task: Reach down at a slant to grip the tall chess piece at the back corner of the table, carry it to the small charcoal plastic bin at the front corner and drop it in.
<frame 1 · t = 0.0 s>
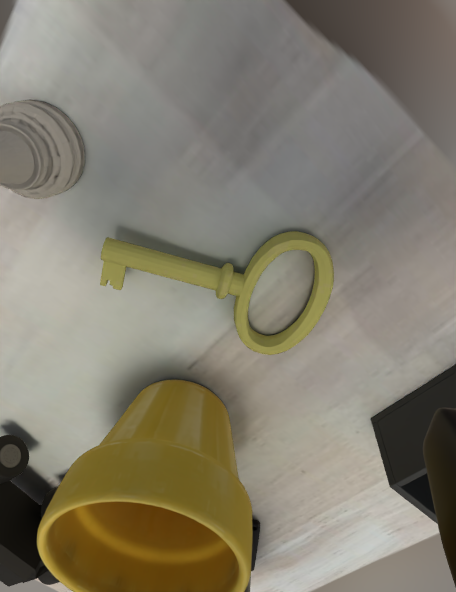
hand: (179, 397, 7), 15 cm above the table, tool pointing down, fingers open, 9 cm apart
chess piece: (45, 148, 20), on the table
flower pot: (182, 415, 28), on the table
toy vehicle: (44, 493, 33), on the table
key: (227, 273, 23), on the table
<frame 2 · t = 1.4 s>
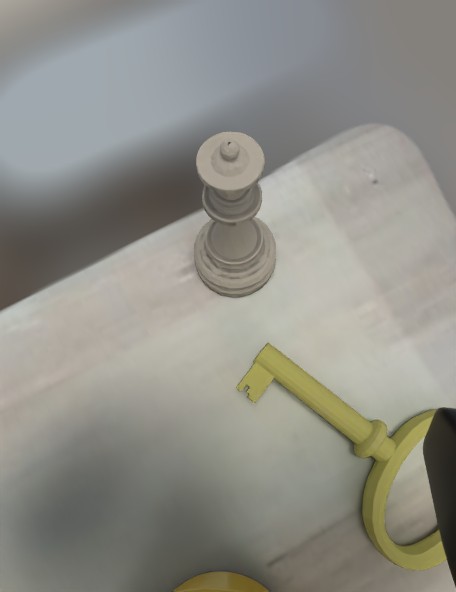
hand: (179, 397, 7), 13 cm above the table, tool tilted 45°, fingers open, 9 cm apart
chess piece: (235, 261, 23), on the table
key: (362, 439, 20), on the table
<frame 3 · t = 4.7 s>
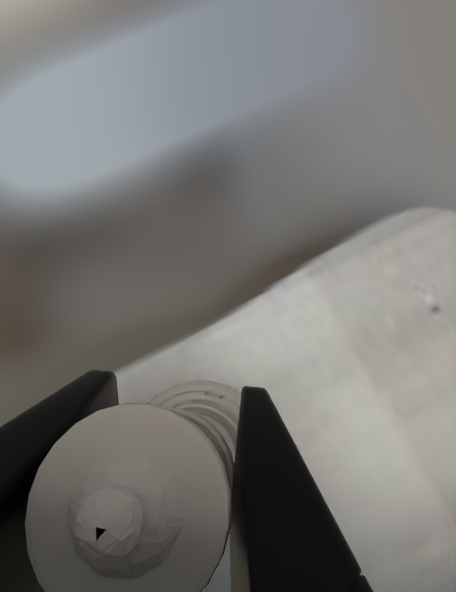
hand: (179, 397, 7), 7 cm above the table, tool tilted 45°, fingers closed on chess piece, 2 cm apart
chess piece: (204, 450, 13), on the table, touching gripper
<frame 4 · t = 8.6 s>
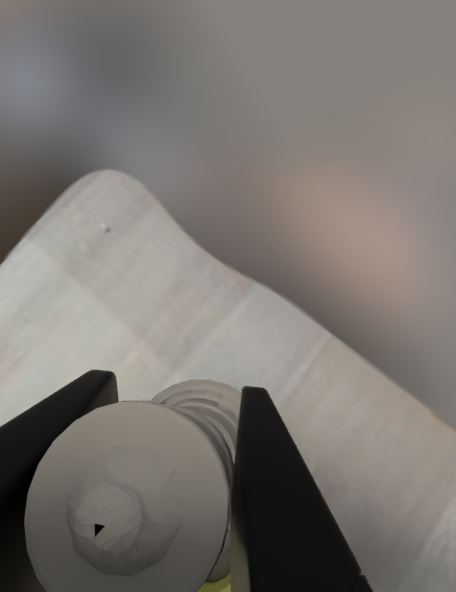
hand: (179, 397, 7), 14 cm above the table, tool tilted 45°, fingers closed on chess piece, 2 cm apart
chess piece: (204, 449, 13), point 7 cm above the table, touching gripper
key: (160, 490, 20), on the table
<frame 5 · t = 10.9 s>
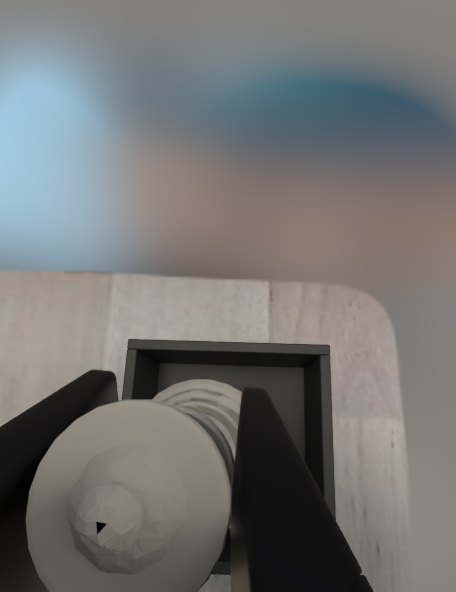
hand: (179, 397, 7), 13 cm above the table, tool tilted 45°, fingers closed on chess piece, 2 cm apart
chess piece: (204, 449, 13), point 7 cm above the table, touching gripper
bin: (228, 441, 20), on the table
when the fingers open (9 cm above the table, at t = 12.7 s): chess piece drops 2 cm, resting on bin.
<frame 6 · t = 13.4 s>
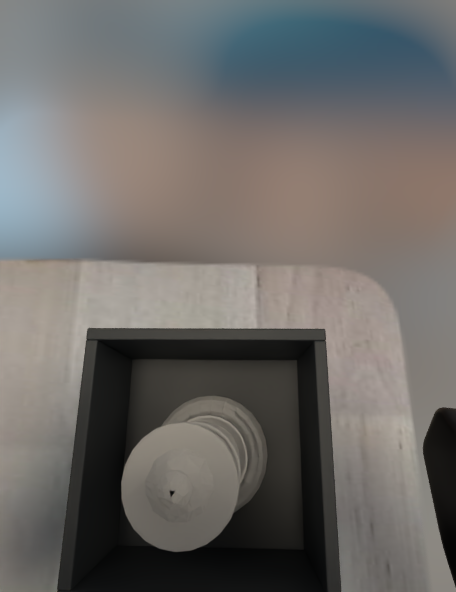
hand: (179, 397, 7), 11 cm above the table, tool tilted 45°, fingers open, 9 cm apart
chess piece: (213, 451, 17), resting on bin
bin: (213, 446, 17), on the table
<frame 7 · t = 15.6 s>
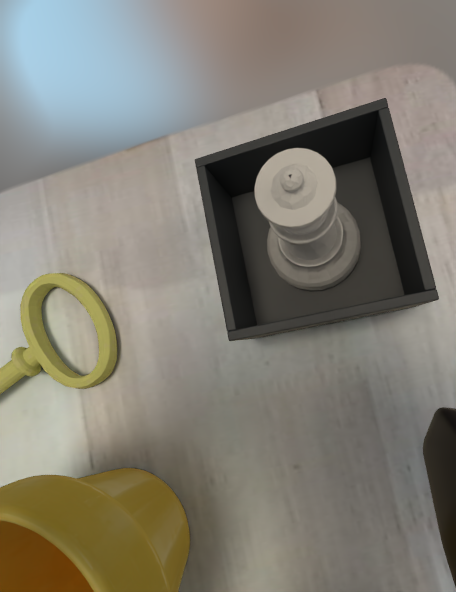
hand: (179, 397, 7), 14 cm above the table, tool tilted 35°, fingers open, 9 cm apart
chess piece: (314, 248, 21), resting on bin
flower pot: (138, 528, 22), on the table
bin: (313, 247, 21), on the table
key: (42, 360, 25), on the table
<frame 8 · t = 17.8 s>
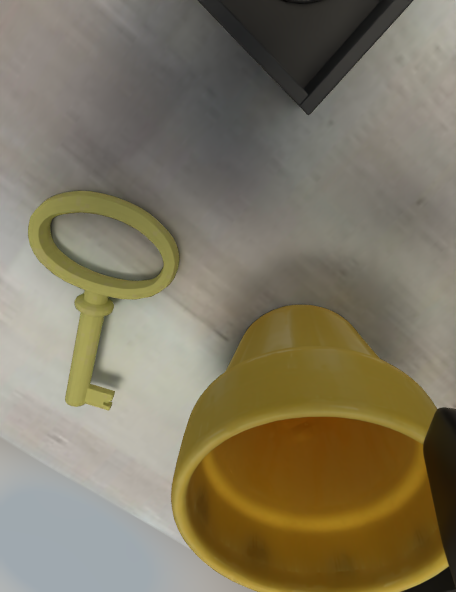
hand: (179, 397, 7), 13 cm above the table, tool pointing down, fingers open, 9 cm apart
flower pot: (301, 352, 22), on the table
toy vehicle: (433, 510, 27), on the table
key: (104, 293, 22), on the table
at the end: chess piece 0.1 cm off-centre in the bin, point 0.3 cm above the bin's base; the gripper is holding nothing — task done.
